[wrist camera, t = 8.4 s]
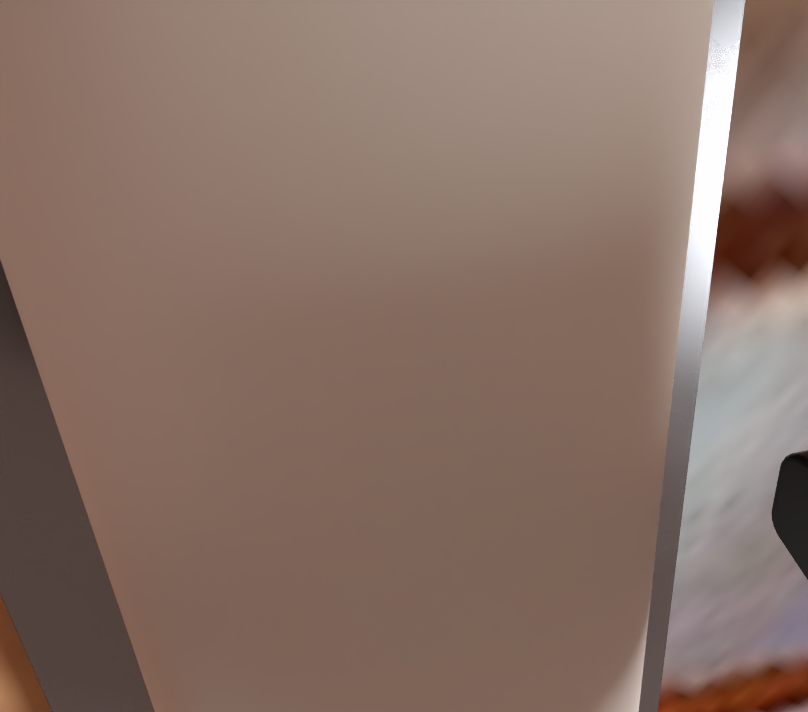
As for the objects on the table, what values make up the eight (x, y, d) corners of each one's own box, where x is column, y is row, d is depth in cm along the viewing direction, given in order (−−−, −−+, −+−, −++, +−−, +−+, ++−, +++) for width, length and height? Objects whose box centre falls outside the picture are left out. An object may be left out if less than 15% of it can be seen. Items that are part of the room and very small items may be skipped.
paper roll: (-38, -323, 7) (-1166, -1647, 1) (547, -333, 8) (1229, -1219, 2) (254, 777, 14) (247, 1230, 9) (535, 715, 15) (686, 1097, 10)
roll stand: (744, -412, 8) (1421, -1023, 4) (636, 675, 17) (796, 940, 12) (-380, -423, 7) (-2069, -1648, 2) (119, 798, 15) (55, 1170, 10)
